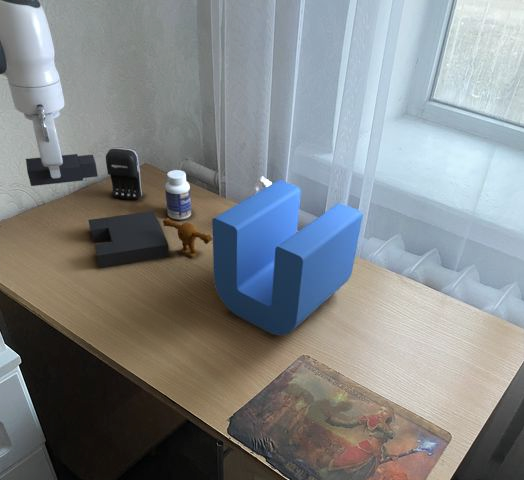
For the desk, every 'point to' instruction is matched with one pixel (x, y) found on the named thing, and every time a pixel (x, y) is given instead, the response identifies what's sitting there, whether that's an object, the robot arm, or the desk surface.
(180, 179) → the pill bottle
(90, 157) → the charcoal pad
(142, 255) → the black pad
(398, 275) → the desk surface
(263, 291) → the block
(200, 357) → the desk surface
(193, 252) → the toy figurine
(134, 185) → the battery charger
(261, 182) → the white creature statuette
